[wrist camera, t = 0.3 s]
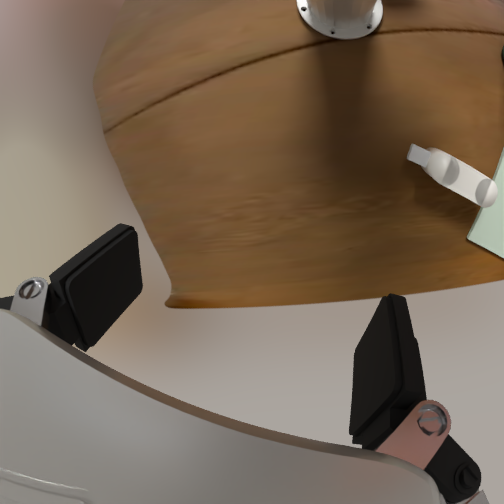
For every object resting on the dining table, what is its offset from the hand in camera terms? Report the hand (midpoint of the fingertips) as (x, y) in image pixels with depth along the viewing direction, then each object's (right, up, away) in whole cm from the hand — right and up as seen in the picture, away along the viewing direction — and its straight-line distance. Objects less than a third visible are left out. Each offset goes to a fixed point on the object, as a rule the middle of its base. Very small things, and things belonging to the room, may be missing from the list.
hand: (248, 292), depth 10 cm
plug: (+30, +14, +25) cm, 42 cm away
